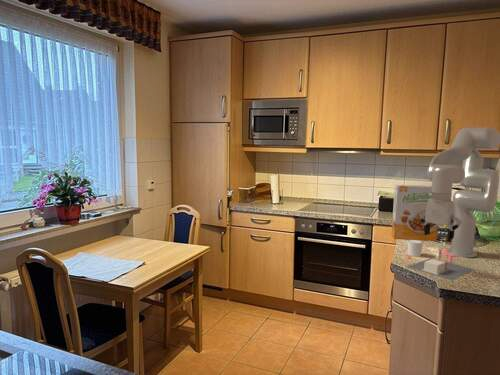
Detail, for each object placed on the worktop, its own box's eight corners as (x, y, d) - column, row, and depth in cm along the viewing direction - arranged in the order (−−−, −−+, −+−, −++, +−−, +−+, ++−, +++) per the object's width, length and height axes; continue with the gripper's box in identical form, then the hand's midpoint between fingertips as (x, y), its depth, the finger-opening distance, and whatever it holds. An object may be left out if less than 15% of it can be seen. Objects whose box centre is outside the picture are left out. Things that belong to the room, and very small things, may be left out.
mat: (431, 258, 174) (431, 257, 174) (475, 270, 159) (475, 269, 159) (406, 267, 162) (406, 266, 162) (451, 281, 147) (451, 279, 146)
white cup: (403, 253, 182) (404, 239, 181) (417, 253, 183) (418, 239, 182) (410, 257, 176) (411, 243, 175) (424, 257, 176) (425, 243, 175)
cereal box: (394, 239, 209) (397, 186, 206) (391, 236, 215) (394, 184, 212) (436, 241, 206) (440, 187, 203) (432, 238, 212) (436, 185, 209)
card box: (437, 273, 153) (437, 265, 153) (423, 269, 157) (424, 261, 157) (446, 269, 158) (447, 261, 157) (433, 266, 162) (434, 258, 162)
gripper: (416, 194, 158) (413, 234, 161) (458, 200, 145) (455, 243, 147) (425, 193, 163) (423, 231, 165) (467, 198, 149) (464, 240, 152)
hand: (438, 236), depth 156 cm, fingers open, 9 cm apart
